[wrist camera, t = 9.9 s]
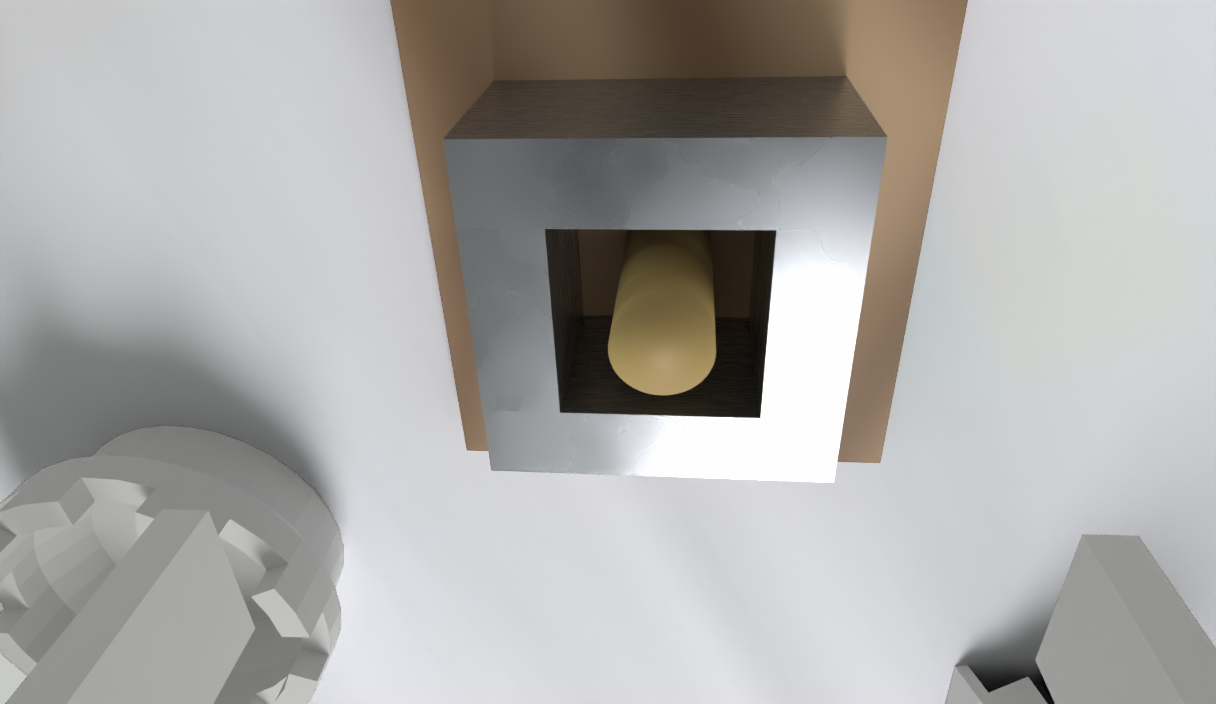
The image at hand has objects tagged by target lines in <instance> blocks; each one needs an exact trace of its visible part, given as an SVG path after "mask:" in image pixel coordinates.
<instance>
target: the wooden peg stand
mask: <svg viewBox="0 0 1216 704" xmlns="http://www.w3.org/2000/svg"><path fill="white" fill-rule="evenodd" d="M390 1H391V7H392V13H393V19H394V25H395V30H396V36H397V42H398V48H399V54H400V60H401V66H402V72H403V78H404V83H405V89H406V95H407V101H408V107H409V113H410V119H411V125H412V130H413V136H414V142H415V148H416V154H417V160H418V166H419V172H420V178H421V183H422V189H423V195H424V201H425V207H426V213H427V219H428V225H429V231H430V236H431V242H432V248H433V254H434V260H435V266H436V272H437V278H438V284H439V289H440V295H441V301H442V307H443V313H444V319H445V325H446V331H447V336H448V342H449V348H450V354H451V360H452V366H453V372H454V378H455V384H456V389H457V395H458V401H459V407H460V413H461V419H462V425H463V431H464V437H465V442H466V448H467V450H473V451H488V444H487V438H486V431H485V424H484V417H483V411H482V404H481V397H480V390H479V383H478V377H477V370H476V363H475V356H474V349H473V343H472V336H471V329H470V322H469V316H468V309H467V302H466V295H465V288H464V282H463V275H462V268H461V261H460V254H459V248H458V241H457V234H456V227H455V221H454V214H453V207H452V200H451V193H450V187H449V180H448V173H447V166H446V160H445V153H444V146H443V138H444V137H445V136H446V135H447V134H448V132H449V131H450V130H451V129H452V128H453V127H454V126H455V124H456V123H457V122H458V121H459V120H460V119H461V118H462V116H463V115H464V114H465V113H466V112H467V111H468V110H469V108H470V107H471V106H472V105H473V104H474V103H475V102H476V100H477V99H478V98H479V97H480V96H481V95H482V94H483V92H484V91H485V90H486V89H487V88H488V87H489V86H490V84H491V83H492V82H493V81H500V80H578V79H655V78H732V77H810V76H847V77H848V79H849V80H850V82H851V83H852V85H853V86H854V88H855V89H856V91H857V92H858V94H859V95H860V97H861V98H862V100H863V101H864V102H865V104H866V105H867V107H868V108H869V110H870V111H871V113H872V114H873V116H874V117H875V119H876V120H877V122H878V123H879V125H880V126H881V128H882V129H883V131H884V132H885V134H886V135H887V144H886V150H885V157H884V163H883V170H882V176H881V182H880V189H879V195H878V202H877V208H876V215H875V221H874V227H873V234H872V240H871V247H870V253H869V260H868V266H867V272H866V279H865V285H864V292H863V298H862V305H861V311H860V317H859V324H858V330H857V337H856V343H855V350H854V356H853V362H852V369H851V375H850V382H849V388H848V395H847V401H846V407H845V414H844V420H843V427H842V433H841V440H840V446H839V452H838V459H837V462H863V463H880V461H881V456H882V451H883V446H884V440H885V435H886V430H887V425H888V419H889V414H890V409H891V403H892V398H893V393H894V388H895V382H896V377H897V372H898V366H899V361H900V356H901V351H902V345H903V340H904V335H905V329H906V324H907V319H908V314H909V308H910V303H911V298H912V292H913V287H914V282H915V277H916V271H917V266H918V261H919V255H920V250H921V245H922V240H923V234H924V229H925V224H926V219H927V213H928V208H929V203H930V197H931V192H932V187H933V182H934V176H935V171H936V166H937V160H938V155H939V150H940V145H941V139H942V134H943V129H944V123H945V118H946V113H947V108H948V102H949V97H950V92H951V86H952V81H953V76H954V71H955V65H956V60H957V55H958V49H959V44H960V39H961V34H962V28H963V23H964V18H965V13H966V7H967V2H968V0H390ZM578 230H579V247H580V264H581V281H582V299H583V315H613V319H612V325H611V331H610V336H609V342H608V355H609V359H610V363H611V365H612V367H613V369H614V370H615V372H616V373H617V375H618V376H619V377H620V378H621V379H622V380H623V381H624V382H625V383H627V384H628V385H629V386H631V387H633V388H635V389H637V390H639V391H641V392H644V393H648V394H653V395H674V394H678V393H682V392H685V391H687V390H690V389H691V388H693V387H695V386H696V385H698V384H699V383H700V382H702V381H703V380H704V379H705V378H706V376H707V375H708V374H709V372H710V371H711V369H712V367H713V365H714V362H715V358H716V335H715V317H738V318H749V308H750V294H751V279H752V265H753V251H754V237H755V230H625V229H578Z"/></svg>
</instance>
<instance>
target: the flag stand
mask: <svg viewBox="0 0 1216 704" xmlns="http://www.w3.org/2000/svg"><path fill="white" fill-rule="evenodd" d="M162 509H173V510H208V511H209V513H210V516H211V518H212V521H213V523H214V526H215V528H216V531H217V533H218V536H219V538H220V541H221V543H222V546H223V548H224V551H225V553H226V556H227V558H228V561H229V563H230V566H231V568H232V571H233V574H234V576H235V579H236V581H237V584H238V586H239V589H240V591H241V594H242V596H243V599H244V601H245V604H246V606H247V609H248V611H249V614H250V616H251V619H252V621H253V624H254V626H255V630H254V632H253V633H252V635H251V637H250V639H249V641H248V642H247V644H246V646H245V648H244V650H243V651H242V653H241V655H240V657H239V659H238V660H237V662H236V664H235V666H234V667H233V669H232V671H231V673H230V675H229V676H228V678H227V680H226V682H225V684H224V685H223V687H222V689H221V691H220V693H219V694H218V696H217V698H216V700H215V702H214V703H213V704H308V703H309V701H310V700H311V698H312V696H313V694H314V692H315V690H316V687H317V685H318V683H319V681H320V679H321V676H322V674H323V672H324V670H325V668H326V665H327V663H328V661H329V659H330V656H331V654H332V652H333V650H334V648H335V645H336V642H337V639H338V636H339V633H340V630H341V607H340V603H339V599H338V596H337V592H336V588H335V586H336V584H337V582H338V580H339V577H340V574H341V571H342V568H343V565H344V546H343V542H342V538H341V534H340V530H339V527H338V525H337V523H336V521H335V520H334V518H333V516H332V514H331V512H330V510H329V508H328V507H327V506H326V504H325V503H324V502H323V501H322V499H321V498H320V497H319V495H318V494H317V493H316V492H315V490H314V489H313V488H312V487H310V486H309V485H308V484H307V483H306V482H305V481H304V480H303V479H302V478H301V477H300V476H299V475H298V474H297V473H296V472H294V471H293V470H291V469H290V468H288V467H287V466H286V465H284V464H283V463H281V462H280V461H278V460H277V459H276V458H274V457H273V456H271V455H269V454H267V453H265V452H263V451H261V450H259V449H257V448H255V447H253V446H252V445H250V444H248V443H245V442H243V441H240V440H237V439H234V438H232V437H229V436H226V435H223V434H220V433H217V432H212V431H207V430H203V429H198V428H193V427H182V426H165V425H164V426H155V427H146V428H139V429H136V430H133V431H130V432H127V433H124V434H121V435H118V436H117V437H115V438H114V439H112V440H111V441H109V442H108V443H106V444H105V445H103V446H102V447H101V448H100V449H99V450H98V451H97V452H96V453H95V454H94V455H93V456H89V457H80V458H71V459H68V460H65V461H62V462H59V463H56V464H53V465H50V466H47V467H45V468H43V469H41V470H40V471H38V472H37V473H35V474H34V475H32V476H31V477H29V478H28V479H26V480H25V481H24V482H23V483H22V484H21V485H19V486H18V487H17V488H16V489H15V490H14V491H13V492H12V493H11V494H10V495H9V496H8V497H7V498H6V499H5V500H4V501H2V502H1V503H0V602H1V603H2V605H3V607H4V609H3V610H2V611H1V613H0V653H1V654H2V655H3V656H4V657H5V658H7V659H8V660H9V661H10V662H11V663H12V664H14V665H15V666H16V667H17V668H18V669H19V670H21V671H22V672H23V673H24V674H25V675H28V674H30V672H31V671H32V670H33V669H34V667H35V666H36V665H37V664H38V662H39V661H40V660H41V659H42V657H43V656H44V655H45V654H46V652H47V651H48V650H49V649H50V648H51V646H52V645H53V644H54V643H55V641H56V640H57V639H58V638H59V636H60V635H61V634H62V633H63V631H64V630H65V629H66V628H67V626H68V625H69V624H70V623H71V622H72V620H73V619H74V618H75V617H76V615H77V614H78V613H79V612H80V610H81V609H82V608H83V607H84V605H85V604H86V603H87V602H88V600H89V599H90V598H91V597H92V596H93V594H94V593H95V592H96V591H97V589H98V588H99V587H100V586H101V584H102V583H103V582H104V581H105V579H106V578H107V577H108V576H109V574H110V573H111V572H112V571H113V569H114V568H115V567H116V566H117V565H118V563H119V562H120V561H121V560H122V558H123V557H124V556H125V555H126V553H127V552H128V551H129V550H130V548H131V547H132V546H133V545H134V543H135V542H136V541H137V540H138V539H139V537H140V536H141V535H142V534H143V532H144V531H145V530H146V529H147V527H148V526H149V525H150V524H151V522H152V521H153V520H154V519H155V517H156V516H157V515H158V514H159V513H160V511H161V510H162Z"/></svg>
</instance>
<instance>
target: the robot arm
mask: <svg viewBox="0 0 1216 704" xmlns="http://www.w3.org/2000/svg"><path fill="white" fill-rule="evenodd" d="M254 630H255V626H254V624H253V621H252V619H251V616H250V614H249V611H248V609H247V606H246V604H245V601H244V599H243V596H242V594H241V591H240V589H239V586H238V584H237V581H236V579H235V576H234V574H233V571H232V568H231V566H230V563H229V561H228V558H227V556H226V553H225V551H224V548H223V546H222V543H221V541H220V538H219V536H218V533H217V531H216V528H215V526H214V523H213V521H212V518H211V516H210V513H209V511H208V510H173V509H162V510H161V511H160V513H159V514H158V515H157V516H156V517H155V519H154V520H153V521H152V522H151V524H150V525H149V526H148V527H147V529H146V530H145V531H144V532H143V534H142V535H141V536H140V537H139V539H138V540H137V541H136V542H135V543H134V545H133V546H132V547H131V548H130V550H129V551H128V552H127V553H126V555H125V556H124V557H123V558H122V560H121V561H120V562H119V563H118V565H117V566H116V567H115V568H114V569H113V571H112V572H111V573H110V574H109V576H108V577H107V578H106V579H105V581H104V582H103V583H102V584H101V586H100V587H99V588H98V589H97V591H96V592H95V593H94V594H93V596H92V597H91V598H90V599H89V600H88V602H87V603H86V604H85V605H84V607H83V608H82V609H81V610H80V612H79V613H78V614H77V615H76V617H75V618H74V619H73V620H72V622H71V623H70V624H69V625H68V626H67V628H66V629H65V630H64V631H63V633H62V634H61V635H60V636H59V638H58V639H57V640H56V641H55V643H54V644H53V645H52V646H51V648H50V649H49V650H48V651H47V652H46V654H45V655H44V656H43V657H42V659H41V660H40V661H39V662H38V664H37V665H36V666H35V667H34V669H33V670H32V671H31V672H30V674H29V675H28V676H27V677H26V678H25V680H24V681H23V682H22V683H21V685H20V686H19V687H18V688H17V690H16V691H15V692H14V693H13V695H12V696H11V697H10V698H9V700H8V701H7V702H6V703H5V704H213V703H214V702H215V700H216V698H217V696H218V694H219V693H220V691H221V689H222V687H223V685H224V684H225V682H226V680H227V678H228V676H229V675H230V673H231V671H232V669H233V667H234V666H235V664H236V662H237V660H238V659H239V657H240V655H241V653H242V651H243V650H244V648H245V646H246V644H247V642H248V641H249V639H250V637H251V635H252V633H253V632H254ZM1035 660H1036V663H1037V665H1038V667H1039V669H1040V672H1041V674H1042V676H1043V678H1044V680H1045V683H1046V685H1047V687H1048V689H1049V692H1050V694H1051V696H1052V698H1053V700H1054V703H1055V704H1216V648H1215V646H1214V645H1213V643H1212V642H1211V640H1210V639H1209V638H1208V636H1207V635H1206V633H1205V632H1204V630H1203V629H1202V627H1201V626H1200V624H1199V623H1198V622H1197V620H1196V619H1195V617H1194V616H1193V614H1192V613H1191V611H1190V610H1189V608H1188V607H1187V606H1186V604H1185V603H1184V601H1183V600H1182V598H1181V597H1180V595H1179V594H1178V592H1177V591H1176V590H1175V588H1174V587H1173V585H1172V584H1171V582H1170V581H1169V579H1168V578H1167V576H1166V575H1165V574H1164V572H1163V571H1162V569H1161V568H1160V566H1159V565H1158V563H1157V562H1156V560H1155V559H1154V558H1153V556H1152V555H1151V553H1150V552H1149V550H1148V549H1147V547H1146V546H1145V544H1144V543H1143V542H1142V540H1141V539H1140V537H1139V536H1121V535H1084V534H1082V537H1081V539H1080V542H1079V545H1078V547H1077V550H1076V553H1075V555H1074V558H1073V561H1072V563H1071V566H1070V569H1069V571H1068V574H1067V577H1066V579H1065V582H1064V585H1063V587H1062V590H1061V593H1060V595H1059V598H1058V601H1057V603H1056V606H1055V609H1054V611H1053V614H1052V617H1051V619H1050V622H1049V625H1048V627H1047V630H1046V633H1045V635H1044V638H1043V641H1042V643H1041V646H1040V649H1039V651H1038V654H1037V657H1036V659H1035Z"/></svg>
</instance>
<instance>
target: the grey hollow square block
mask: <svg viewBox="0 0 1216 704" xmlns="http://www.w3.org/2000/svg"><path fill="white" fill-rule="evenodd" d="M886 144H887V135H886V134H885V132H884V131H883V129H882V128H881V126H880V125H879V123H878V122H877V120H876V119H875V117H874V116H873V114H872V113H871V111H870V110H869V108H868V107H867V105H866V104H865V102H864V101H863V100H862V98H861V97H860V95H859V94H858V92H857V91H856V89H855V88H854V86H853V85H852V83H851V82H850V80H849V79H848V77H847V76H810V77H732V78H655V79H578V80H500V81H493V82H492V83H491V84H490V86H489V87H488V88H487V89H486V90H485V91H484V92H483V94H482V95H481V96H480V97H479V98H478V99H477V100H476V102H475V103H474V104H473V105H472V106H471V107H470V108H469V110H468V111H467V112H466V113H465V114H464V115H463V116H462V118H461V119H460V120H459V121H458V122H457V123H456V124H455V126H454V127H453V128H452V129H451V130H450V131H449V132H448V134H447V135H446V136H445V137H444V138H443V146H444V153H445V160H446V166H447V173H448V180H449V187H450V193H451V200H452V207H453V214H454V221H455V227H456V234H457V241H458V248H459V254H460V261H461V268H462V275H463V282H464V288H465V295H466V302H467V309H468V316H469V322H470V329H471V336H472V343H473V349H474V356H475V363H476V370H477V377H478V383H479V390H480V397H481V404H482V411H483V417H484V424H485V431H486V438H487V444H488V451H489V458H490V465H491V470H492V471H520V472H548V473H576V474H604V475H632V476H660V477H688V478H716V479H744V480H773V481H801V482H829V483H834V478H835V472H836V465H837V459H838V452H839V446H840V440H841V433H842V427H843V420H844V414H845V407H846V401H847V395H848V388H849V382H850V375H851V369H852V362H853V356H854V350H855V343H856V337H857V330H858V324H859V317H860V311H861V305H862V298H863V292H864V285H865V279H866V272H867V266H868V260H869V253H870V247H871V240H872V234H873V227H874V221H875V215H876V208H877V202H878V195H879V189H880V182H881V176H882V170H883V163H884V157H885V150H886ZM578 229H625V230H755V237H754V251H753V265H752V279H751V294H750V308H749V318H738V317H715V335H716V358H715V362H714V365H713V367H712V369H711V371H710V372H709V374H708V375H707V376H706V378H705V379H704V380H703V381H702V382H700V383H699V384H698V385H696V386H695V387H693V388H691V389H690V390H687V391H685V392H682V393H678V394H674V395H653V394H648V393H644V392H641V391H639V390H637V389H635V388H633V387H631V386H629V385H628V384H627V383H625V382H624V381H623V380H622V379H621V378H620V377H619V376H618V375H617V373H616V372H615V370H614V369H613V367H612V365H611V363H610V359H609V355H608V342H609V336H610V331H611V325H612V319H613V315H583V299H582V281H581V264H580V247H579V230H578Z"/></svg>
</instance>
